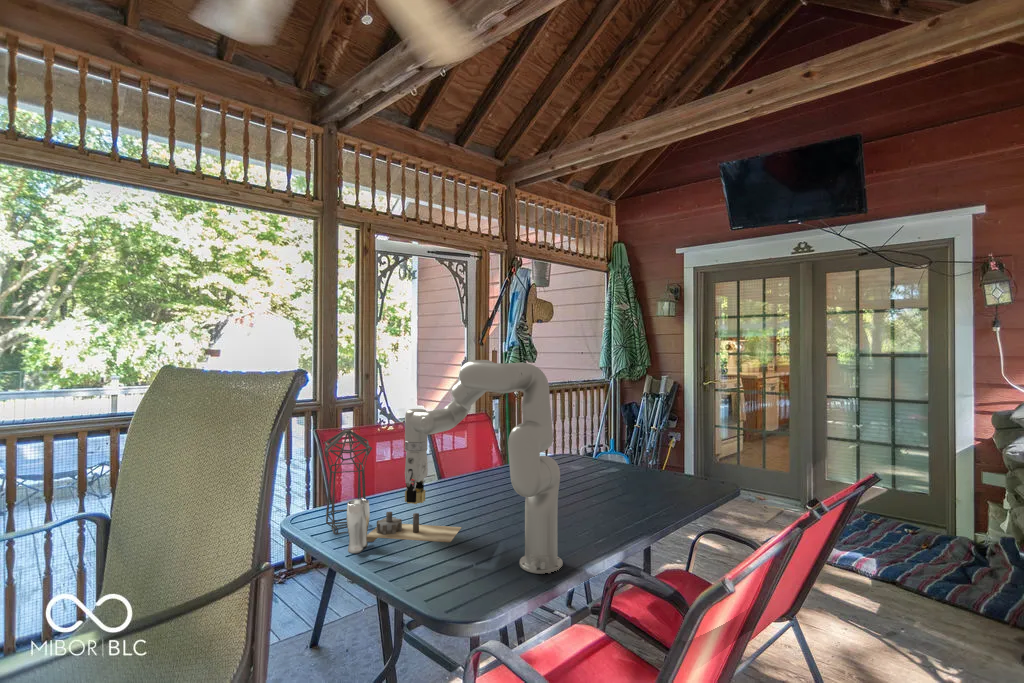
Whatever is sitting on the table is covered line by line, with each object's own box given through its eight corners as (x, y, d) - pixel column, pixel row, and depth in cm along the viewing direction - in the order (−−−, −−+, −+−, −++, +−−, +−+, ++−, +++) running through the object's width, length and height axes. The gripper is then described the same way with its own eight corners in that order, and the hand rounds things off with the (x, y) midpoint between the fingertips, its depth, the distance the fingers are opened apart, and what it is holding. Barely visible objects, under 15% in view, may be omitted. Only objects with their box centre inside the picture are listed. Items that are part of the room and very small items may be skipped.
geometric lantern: (366, 519, 191) (368, 425, 190) (370, 535, 176) (373, 432, 176) (320, 524, 185) (323, 426, 185) (321, 540, 170) (323, 434, 170)
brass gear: (421, 504, 170) (421, 494, 170) (402, 503, 171) (402, 492, 171) (427, 498, 177) (427, 488, 177) (409, 497, 178) (409, 487, 178)
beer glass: (361, 543, 167) (361, 497, 167) (374, 549, 163) (374, 501, 163) (341, 550, 162) (342, 502, 162) (354, 556, 157) (355, 506, 158)
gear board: (450, 547, 165) (450, 523, 165) (364, 541, 169) (364, 518, 169) (461, 531, 178) (461, 509, 179) (382, 526, 183) (382, 505, 183)
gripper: (418, 451, 165) (417, 507, 165) (434, 441, 182) (433, 492, 182) (395, 450, 166) (394, 506, 166) (414, 440, 183) (413, 491, 183)
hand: (415, 498), depth 174 cm, fingers closed on brass gear, 6 cm apart
